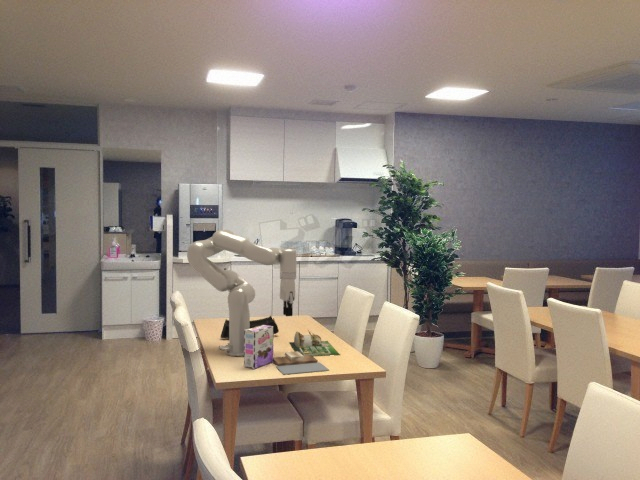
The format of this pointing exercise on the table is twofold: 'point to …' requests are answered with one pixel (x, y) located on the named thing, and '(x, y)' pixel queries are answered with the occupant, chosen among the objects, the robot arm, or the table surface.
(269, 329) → the candy box
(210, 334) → the table surface
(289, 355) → the birch tile
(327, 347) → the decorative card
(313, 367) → the slate mat
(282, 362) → the walnut deck
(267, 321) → the magazine
